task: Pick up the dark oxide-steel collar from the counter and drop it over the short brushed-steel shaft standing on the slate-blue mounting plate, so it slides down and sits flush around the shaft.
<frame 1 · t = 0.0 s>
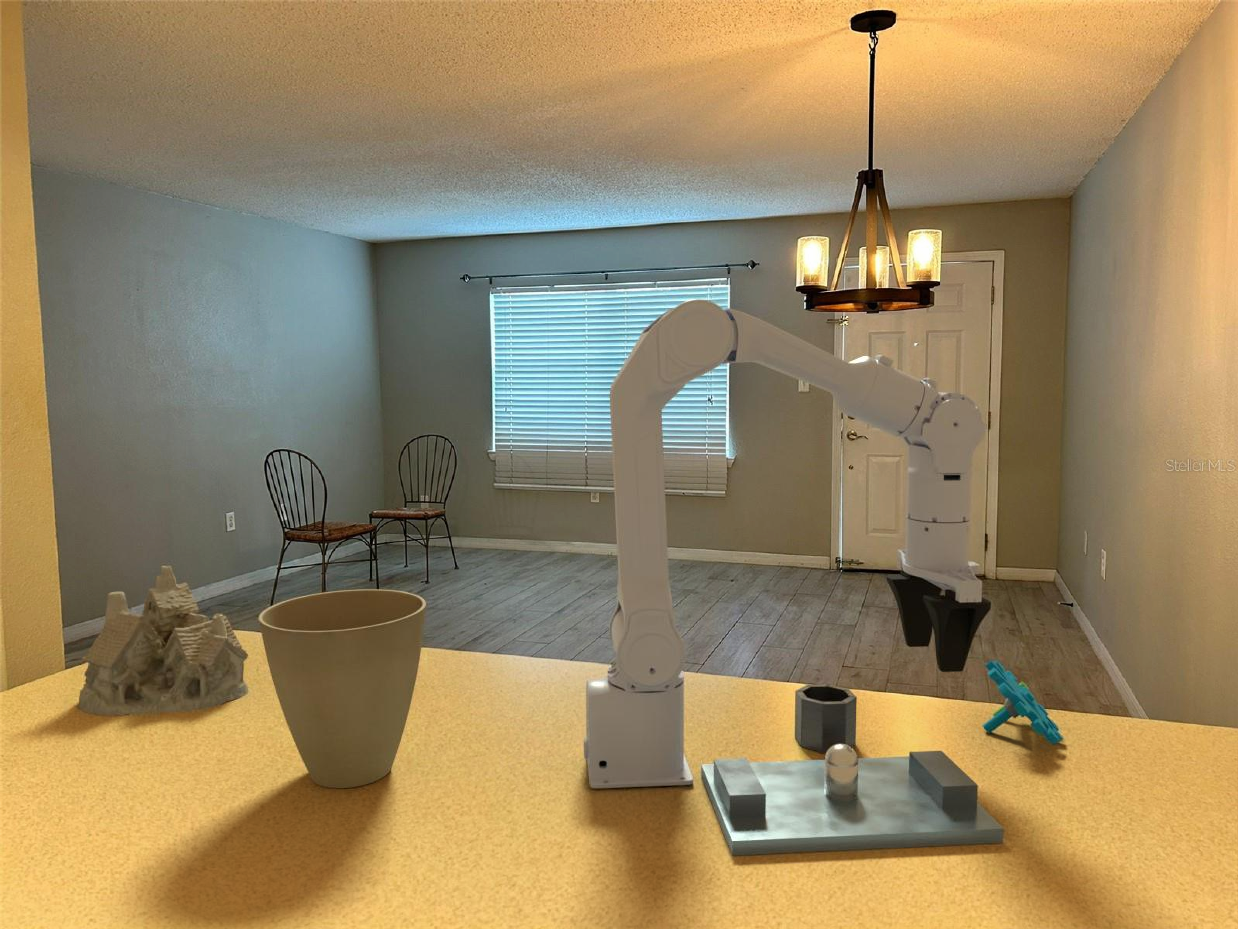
hand: (933, 657, 87), 10 cm above the worktop, tool pointing down, fingers open, 7 cm apart
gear: (1021, 736, 94), on the worktop
plant pot: (349, 774, 86), on the worktop
shaft mount: (840, 807, 78), on the worktop
ceramic cottage: (165, 699, 106), on the worktop
collar: (824, 741, 93), on the worktop
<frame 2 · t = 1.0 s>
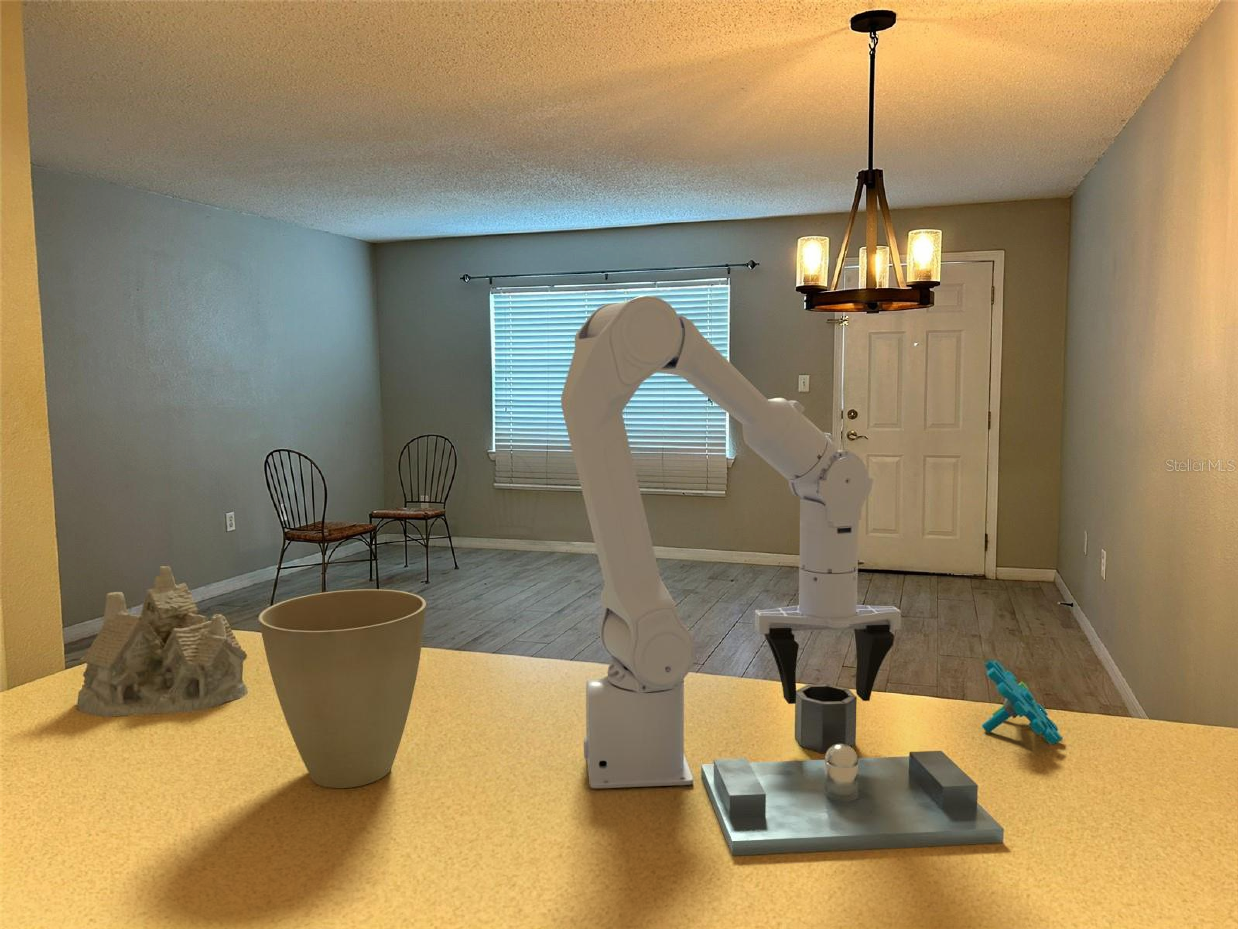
hand: (826, 699, 92), 4 cm above the worktop, tool pointing down, fingers open, 7 cm apart
nothing on the worktop moved.
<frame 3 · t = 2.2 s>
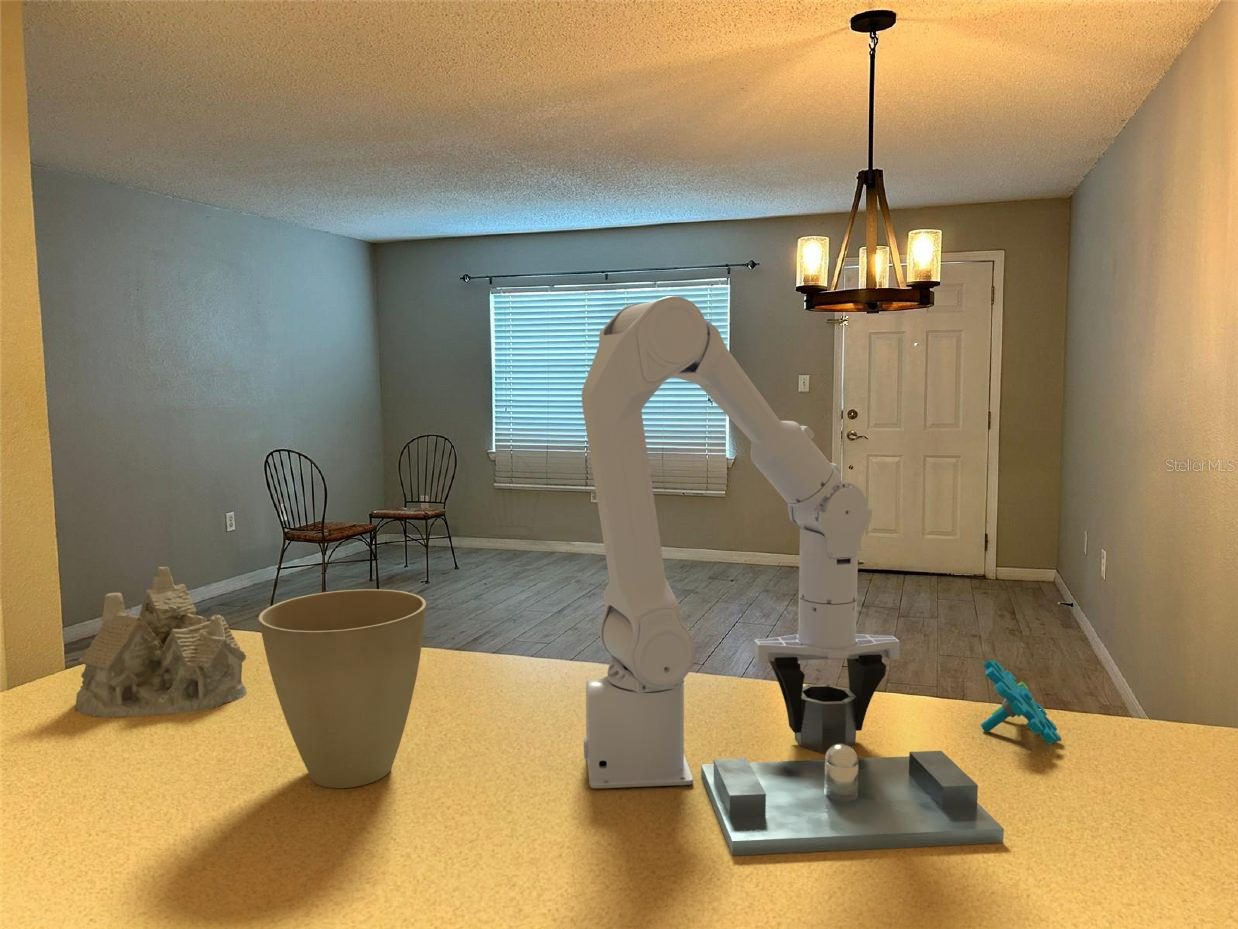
hand: (825, 728, 92), 1 cm above the worktop, tool pointing down, fingers closed on collar, 6 cm apart
collar: (824, 741, 93), on the worktop, touching gripper
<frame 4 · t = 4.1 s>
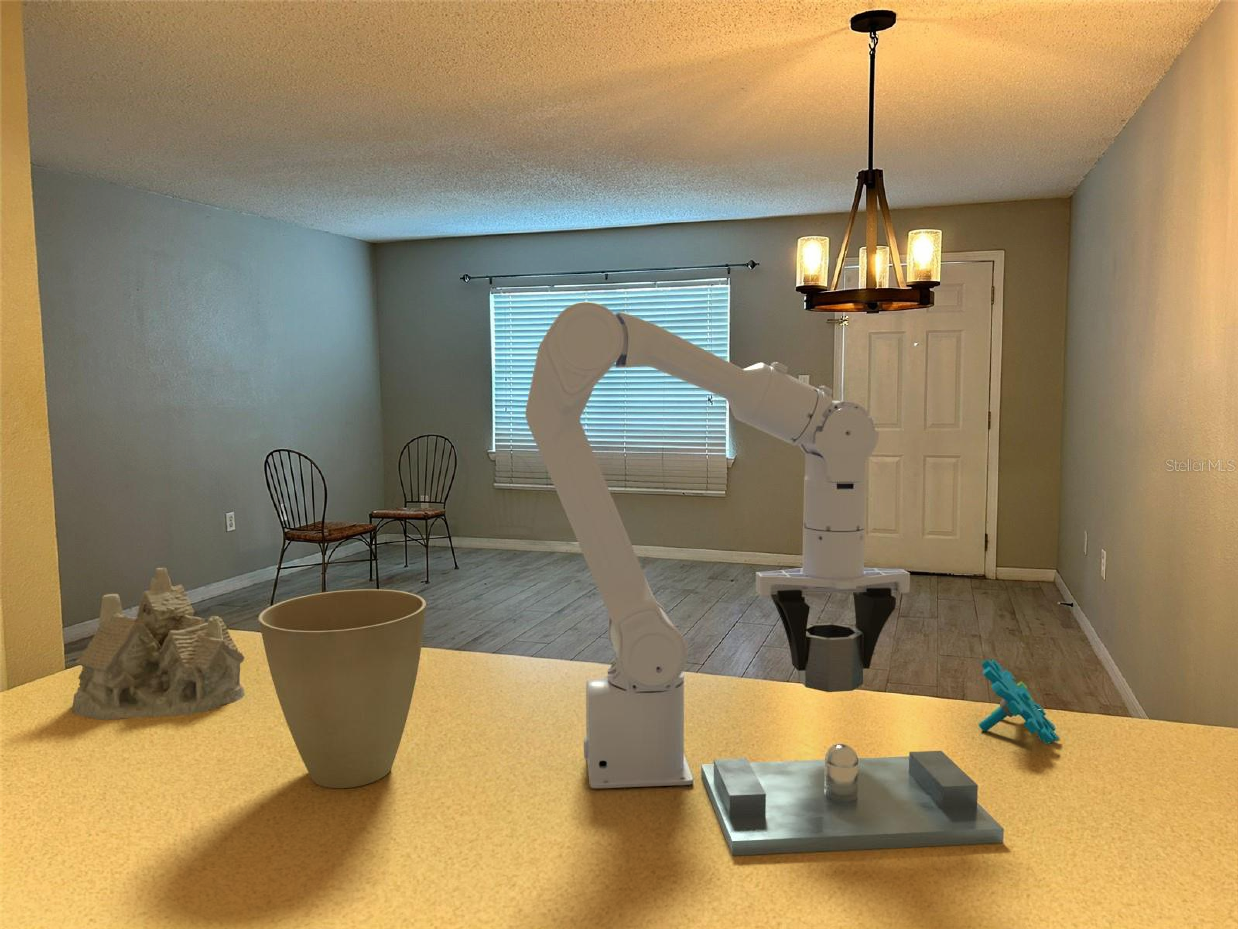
hand: (830, 666, 87), 9 cm above the worktop, tool pointing down, fingers closed on collar, 6 cm apart
collar: (830, 681, 88), point 8 cm above the worktop, touching gripper
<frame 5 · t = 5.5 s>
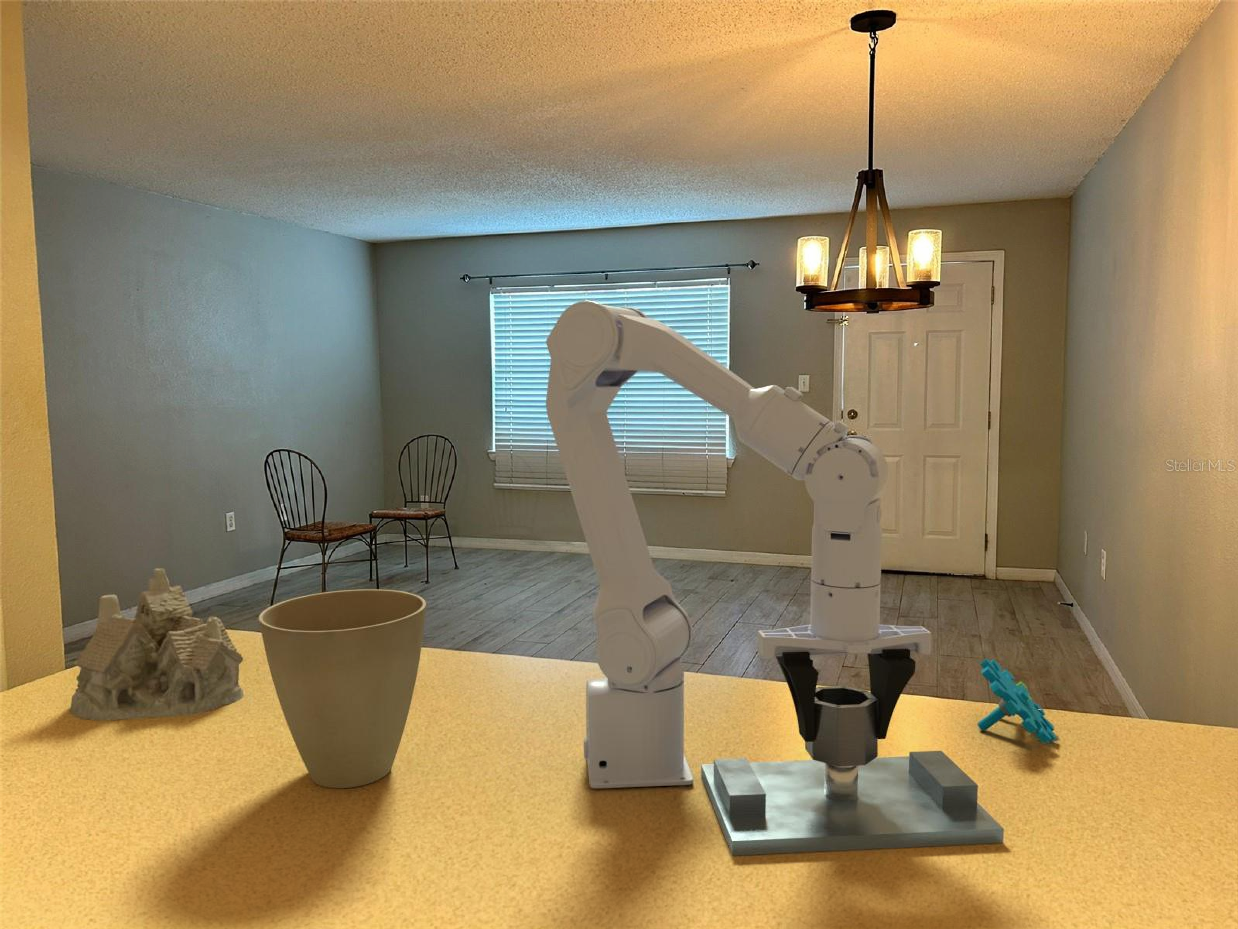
hand: (842, 736, 78), 6 cm above the worktop, tool pointing down, fingers closed on collar, 6 cm apart
collar: (841, 753, 78), point 5 cm above the worktop, touching gripper
when the fingers open (6 cm above the worktop, at t = 6.3 s): collar drops 4 cm, resting on shaft mount.
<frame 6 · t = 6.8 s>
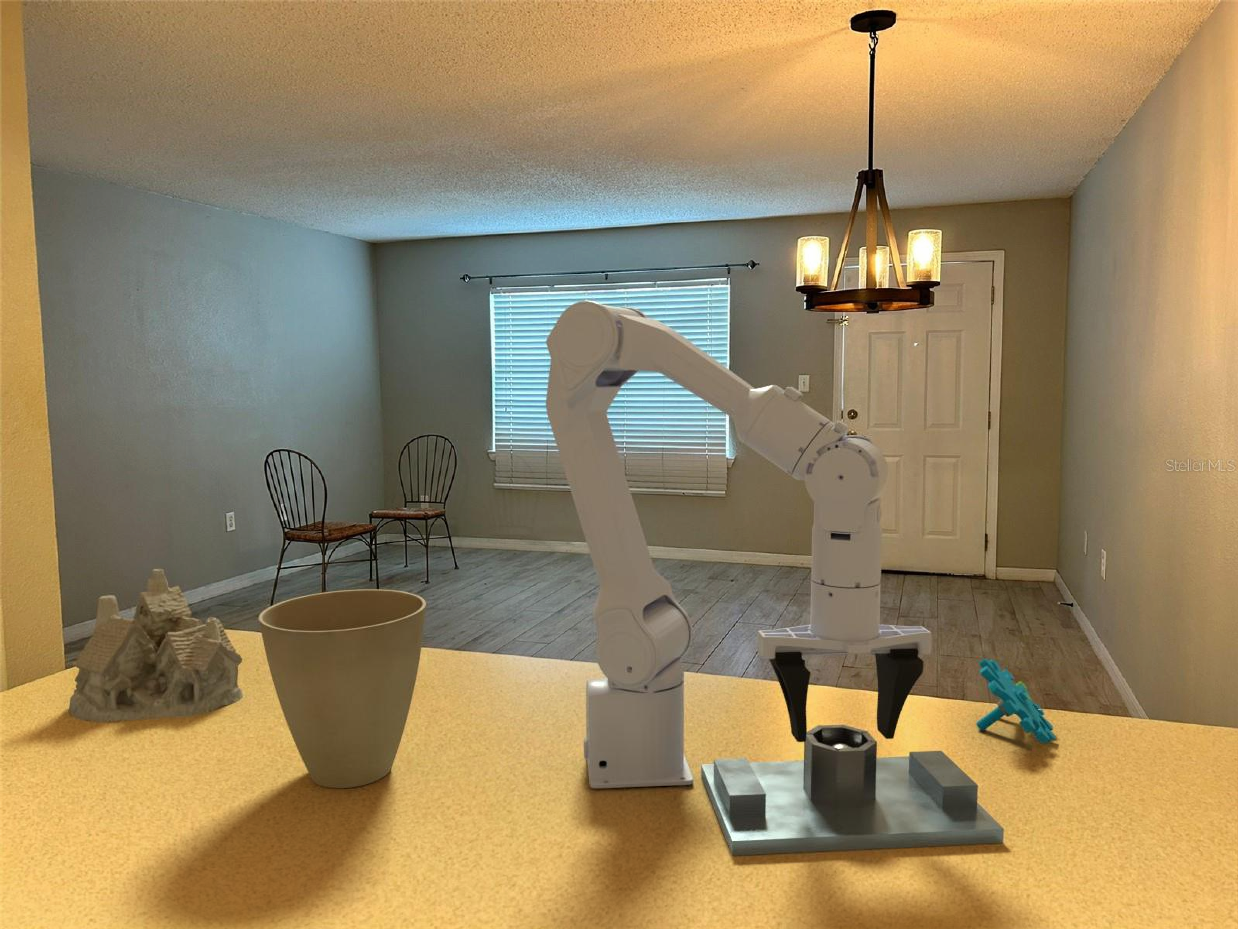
hand: (842, 736, 78), 6 cm above the worktop, tool pointing down, fingers open, 7 cm apart
collar: (839, 793, 79), point 1 cm above the worktop, touching shaft mount
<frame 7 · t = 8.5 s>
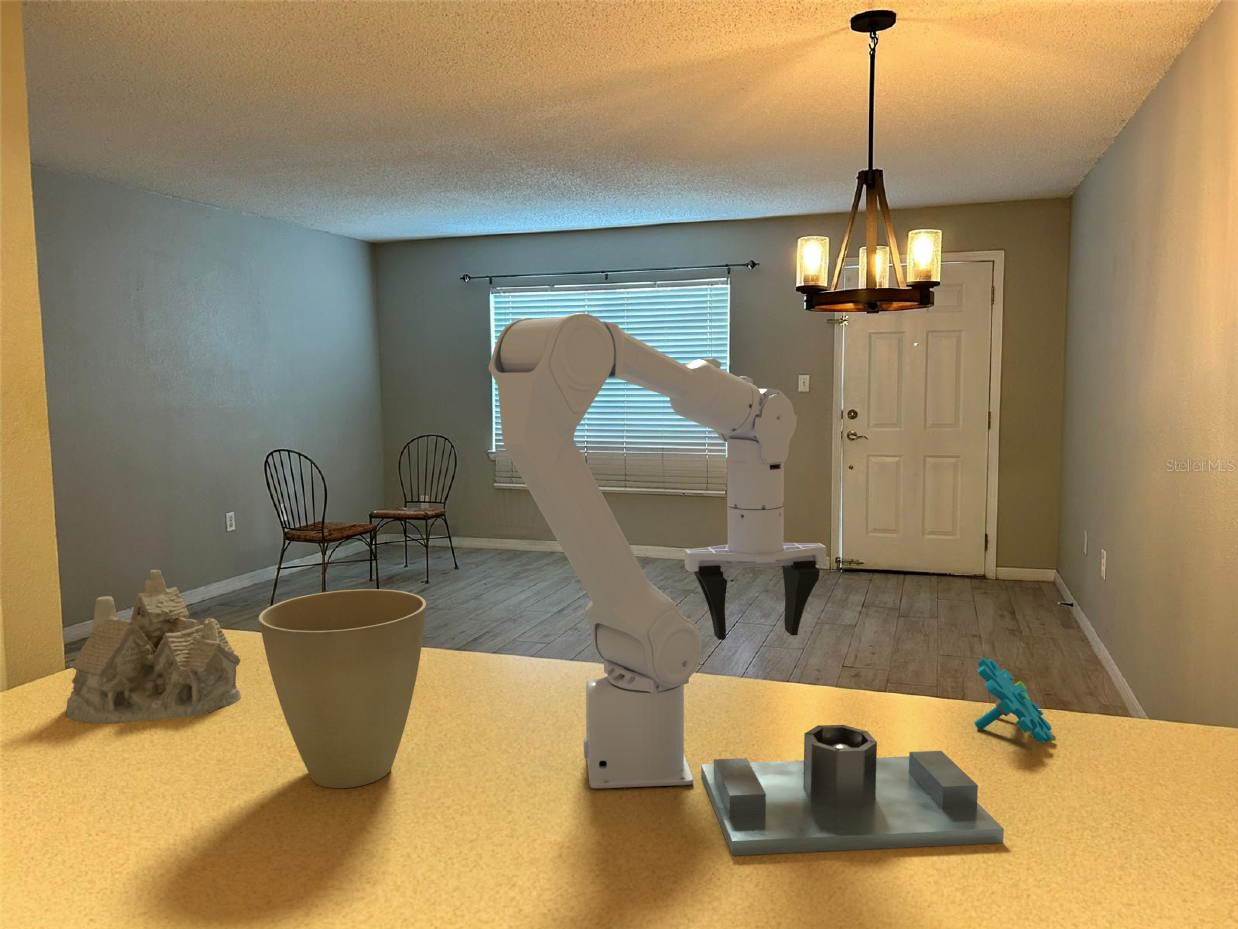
hand: (755, 635, 94), 10 cm above the worktop, tool pointing down, fingers open, 7 cm apart
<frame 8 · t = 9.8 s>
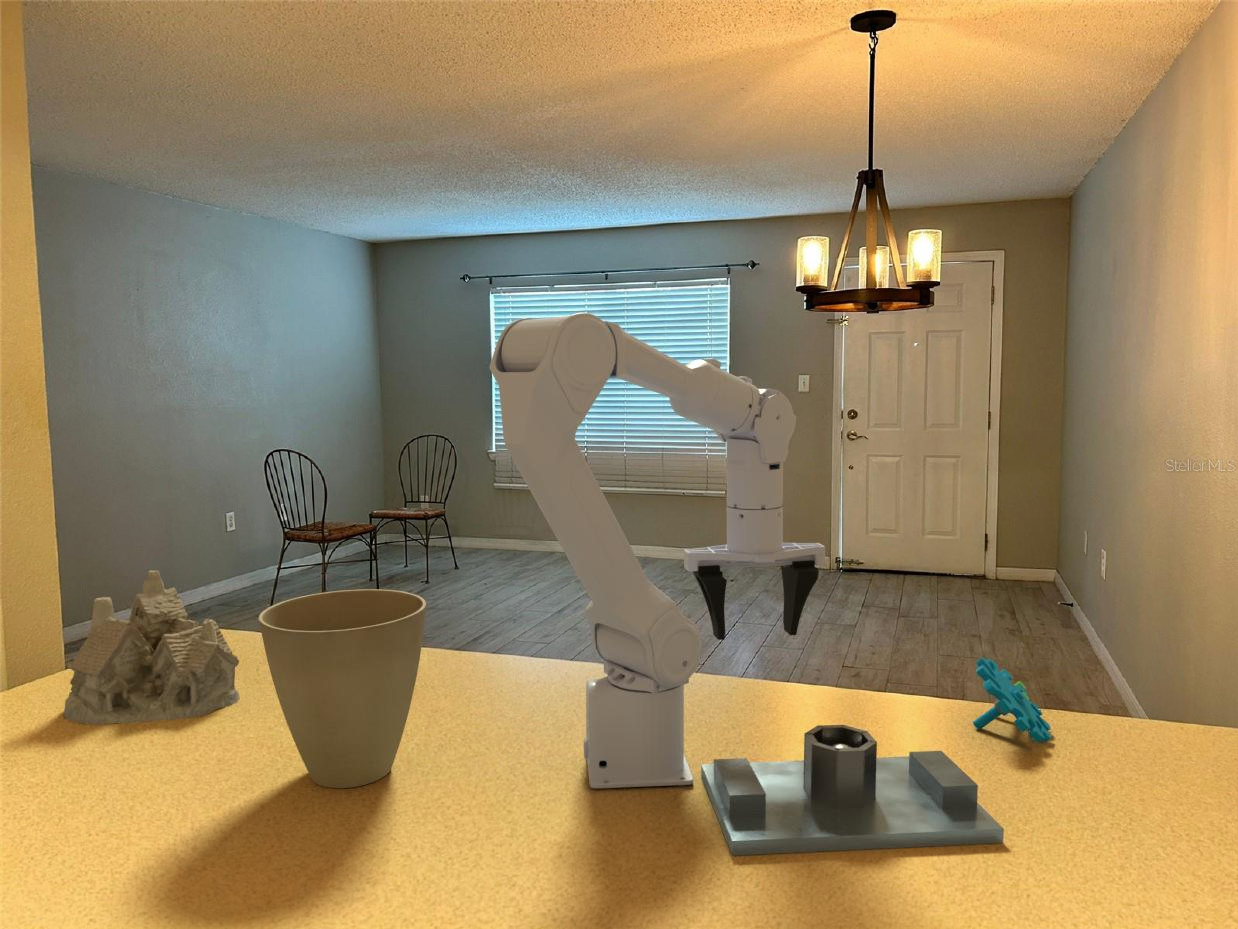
hand: (754, 634, 94), 10 cm above the worktop, tool pointing down, fingers open, 7 cm apart
at the end: collar 0.2 cm off-centre on the shaft mount, point 1.2 cm above the shaft mount's base; collar tilted 0°; the gripper is holding nothing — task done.
